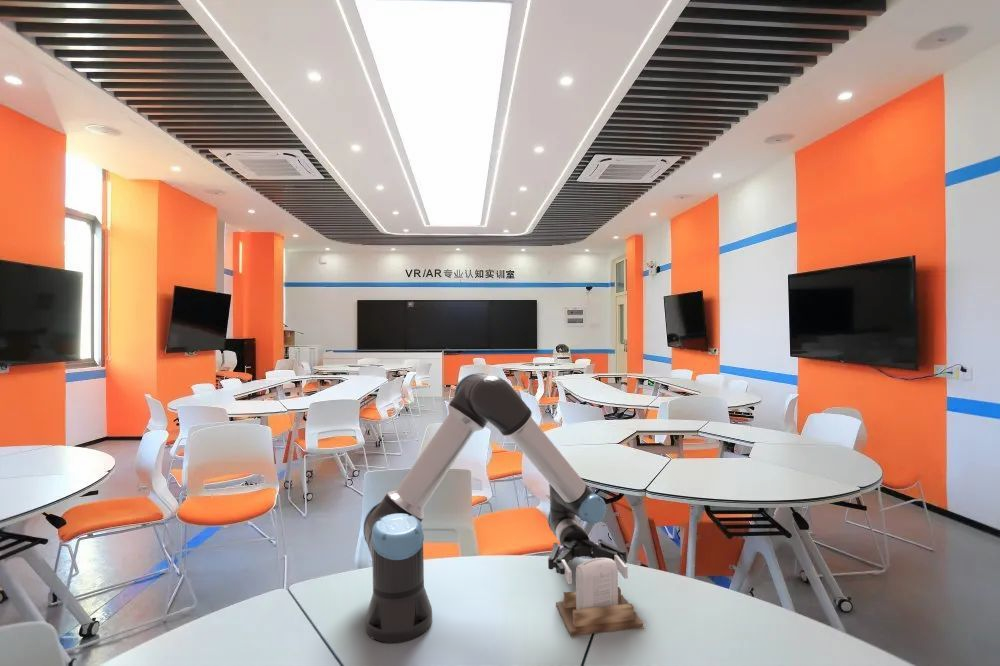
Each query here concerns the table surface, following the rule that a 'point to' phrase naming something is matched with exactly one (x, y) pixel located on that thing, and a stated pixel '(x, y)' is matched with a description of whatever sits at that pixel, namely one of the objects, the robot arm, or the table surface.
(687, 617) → the table surface
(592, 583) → the photo printer
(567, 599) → the rack
